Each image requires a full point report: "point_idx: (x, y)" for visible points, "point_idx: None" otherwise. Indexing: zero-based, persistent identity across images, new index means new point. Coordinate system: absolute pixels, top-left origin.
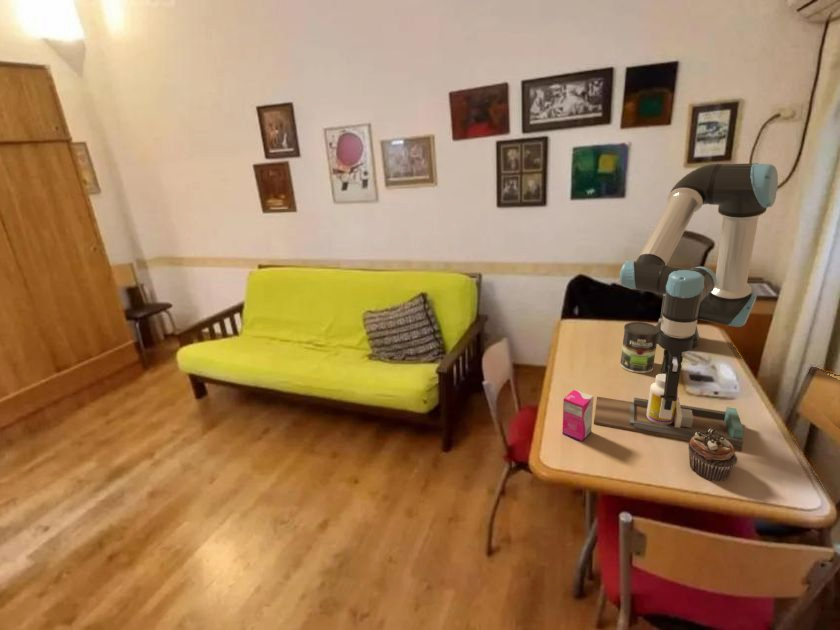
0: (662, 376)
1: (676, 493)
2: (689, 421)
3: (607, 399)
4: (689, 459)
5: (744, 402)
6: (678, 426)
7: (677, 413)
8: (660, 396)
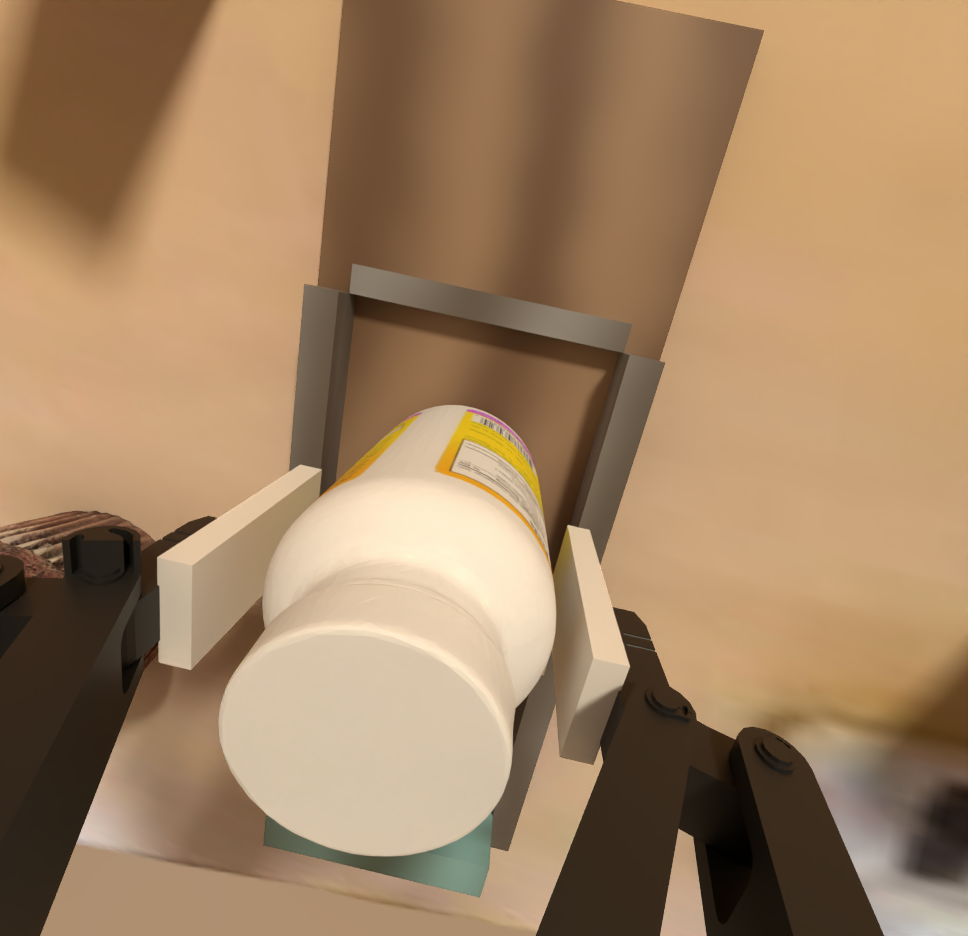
0: (403, 721)
1: None
2: None
3: (706, 136)
4: (73, 521)
5: (677, 903)
6: None
7: None
8: (130, 532)
